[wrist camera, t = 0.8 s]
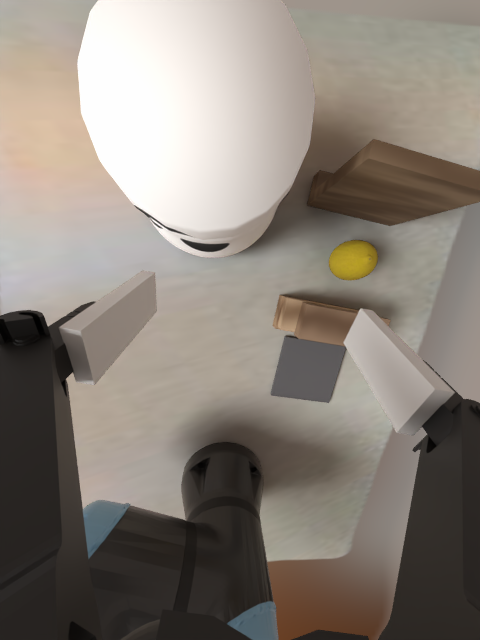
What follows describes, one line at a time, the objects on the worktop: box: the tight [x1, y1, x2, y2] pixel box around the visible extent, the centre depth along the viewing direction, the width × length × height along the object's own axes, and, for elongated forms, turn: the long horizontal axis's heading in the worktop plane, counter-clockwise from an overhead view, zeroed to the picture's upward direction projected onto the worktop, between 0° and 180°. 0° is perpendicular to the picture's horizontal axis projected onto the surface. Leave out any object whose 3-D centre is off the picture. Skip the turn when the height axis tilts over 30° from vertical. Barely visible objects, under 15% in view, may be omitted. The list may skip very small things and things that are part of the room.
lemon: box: [329, 240, 378, 280], centre depth 31 cm, size 6×6×8 cm
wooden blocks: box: [273, 139, 480, 346], centre depth 28 cm, size 23×16×14 cm
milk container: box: [77, 0, 316, 258], centre depth 23 cm, size 17×17×18 cm
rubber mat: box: [271, 336, 346, 403], centre depth 38 cm, size 11×11×1 cm
